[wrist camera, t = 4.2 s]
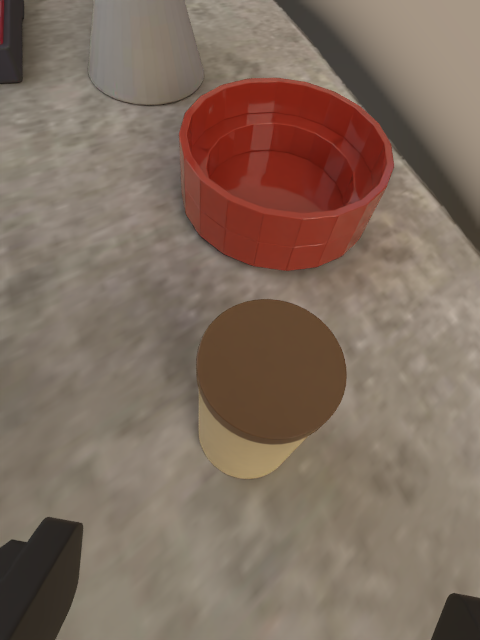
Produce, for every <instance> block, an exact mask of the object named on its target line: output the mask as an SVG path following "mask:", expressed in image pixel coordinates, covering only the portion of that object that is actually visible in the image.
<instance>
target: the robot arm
mask: <svg viewBox="0 0 480 640" xmlns="http://www.w3.org/2000/svg"><path fill="white" fill-rule="evenodd" d="M82 537H83V524H82V523H79V522H73V521H68V520H63V519H57V518H52V517H46V518H45V519H44V520H43V521H42V522H41V524H40V525H39V526H38V528H37V529H36V531H35V532H34V533H33V535H32V536H31V538H30V539H29V540H28V542H23V541H17V540H10V541H9V542H8V543H6V544H5V545H3V546H2V547H1V548H0V640H55V639H56V637H57V635H58V632H59V630H60V628H61V626H62V624H63V622H64V620H65V618H66V616H67V614H68V612H69V609H70V607H71V604H72V601H73V599H74V595H75V592H76V588H77V584H78V579H79V569H80V558H81V548H82ZM431 640H480V598H477V597H472V596H467V595H461V594H456V593H453V594H451V595H449V597H448V598H447V600H446V603H445V605H444V608H443V610H442V613H441V616H440V618H439V621H438V623H437V626H436V628H435V631H434V633H433V636H432V639H431Z"/></svg>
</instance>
